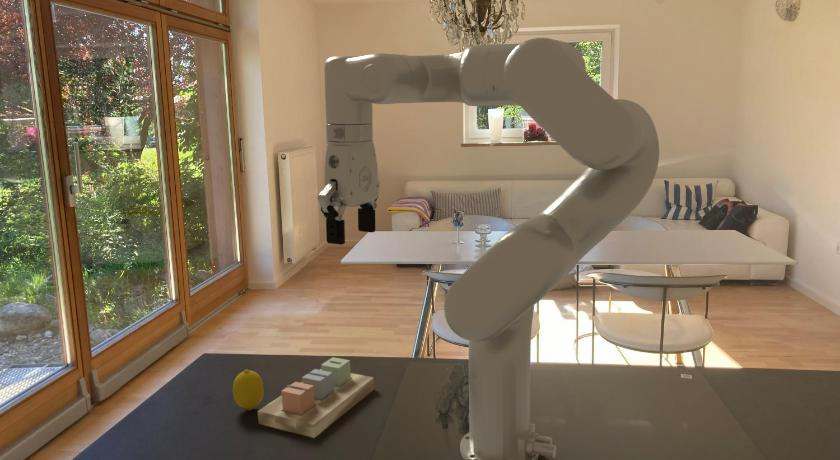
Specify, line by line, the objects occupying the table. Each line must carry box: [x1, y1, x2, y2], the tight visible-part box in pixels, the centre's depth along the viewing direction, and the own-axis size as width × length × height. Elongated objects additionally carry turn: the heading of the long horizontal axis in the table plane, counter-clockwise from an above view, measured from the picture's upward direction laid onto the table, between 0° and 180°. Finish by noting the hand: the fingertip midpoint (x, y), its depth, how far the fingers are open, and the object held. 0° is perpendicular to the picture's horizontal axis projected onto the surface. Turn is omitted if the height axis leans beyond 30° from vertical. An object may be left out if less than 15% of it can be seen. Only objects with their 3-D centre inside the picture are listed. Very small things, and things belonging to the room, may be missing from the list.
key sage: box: [320, 356, 352, 387], centre depth 124 cm, size 4×4×4 cm
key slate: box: [301, 368, 334, 401], centre depth 119 cm, size 4×4×4 cm
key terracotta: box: [280, 381, 315, 416], centre depth 113 cm, size 5×4×4 cm
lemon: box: [232, 369, 265, 411], centre depth 118 cm, size 6×6×8 cm
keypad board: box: [257, 368, 375, 439], centre depth 119 cm, size 12×20×2 cm, turn 153°
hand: (351, 237), depth 108 cm, fingers open, 9 cm apart
